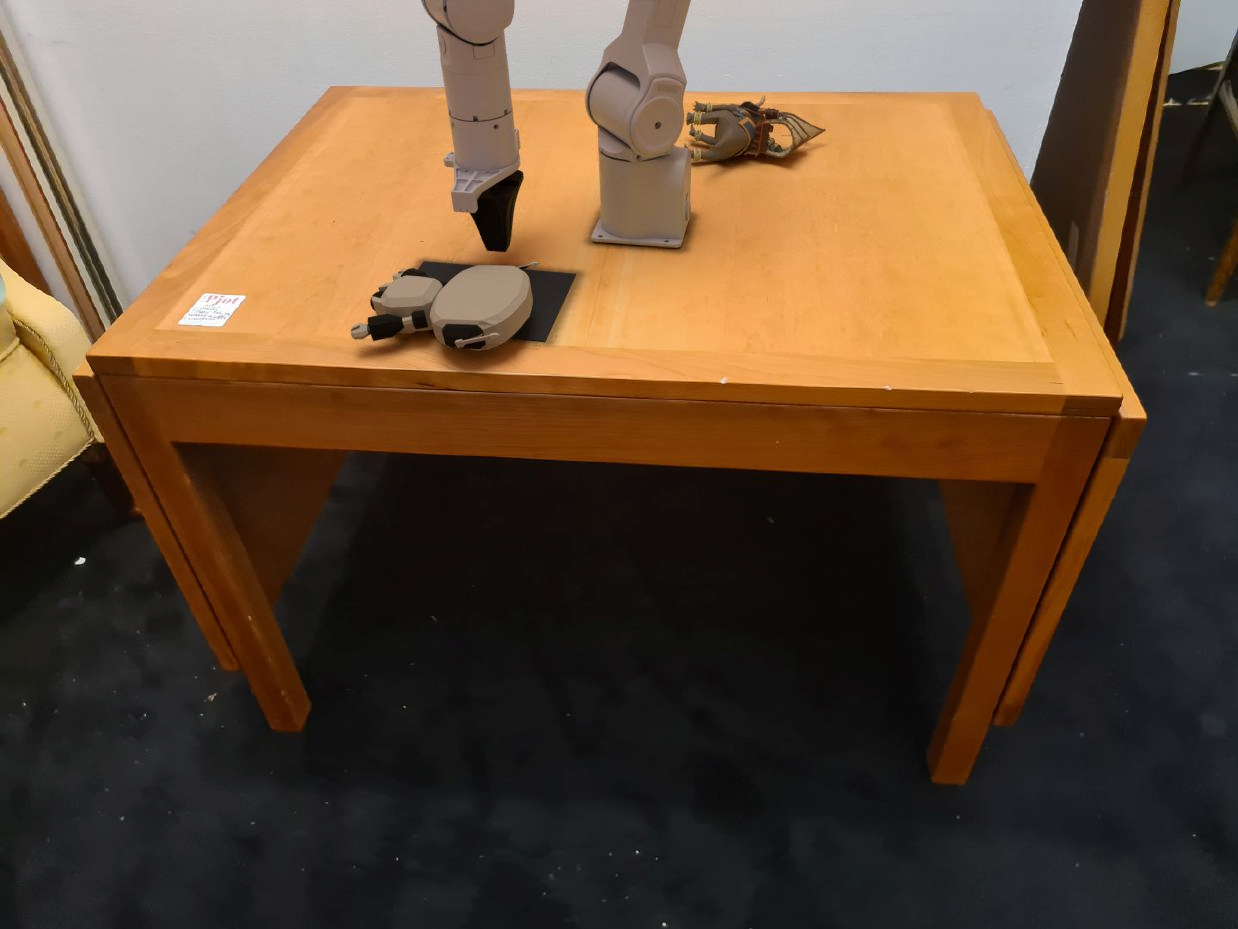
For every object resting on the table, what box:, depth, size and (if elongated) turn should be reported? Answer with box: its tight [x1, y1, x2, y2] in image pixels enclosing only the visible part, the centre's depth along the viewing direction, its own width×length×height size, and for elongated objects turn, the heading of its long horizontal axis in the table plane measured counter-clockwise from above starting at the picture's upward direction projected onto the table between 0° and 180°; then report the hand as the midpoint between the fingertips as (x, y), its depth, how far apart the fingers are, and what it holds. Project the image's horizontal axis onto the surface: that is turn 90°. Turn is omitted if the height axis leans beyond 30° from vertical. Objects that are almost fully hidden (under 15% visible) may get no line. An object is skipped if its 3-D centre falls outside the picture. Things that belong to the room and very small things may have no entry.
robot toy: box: [350, 261, 541, 352], centre depth 78 cm, size 12×4×15 cm
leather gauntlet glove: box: [683, 95, 826, 163], centre depth 105 cm, size 20×6×17 cm
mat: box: [417, 260, 577, 343], centre depth 83 cm, size 16×12×1 cm
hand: (498, 248), depth 86 cm, fingers closed
